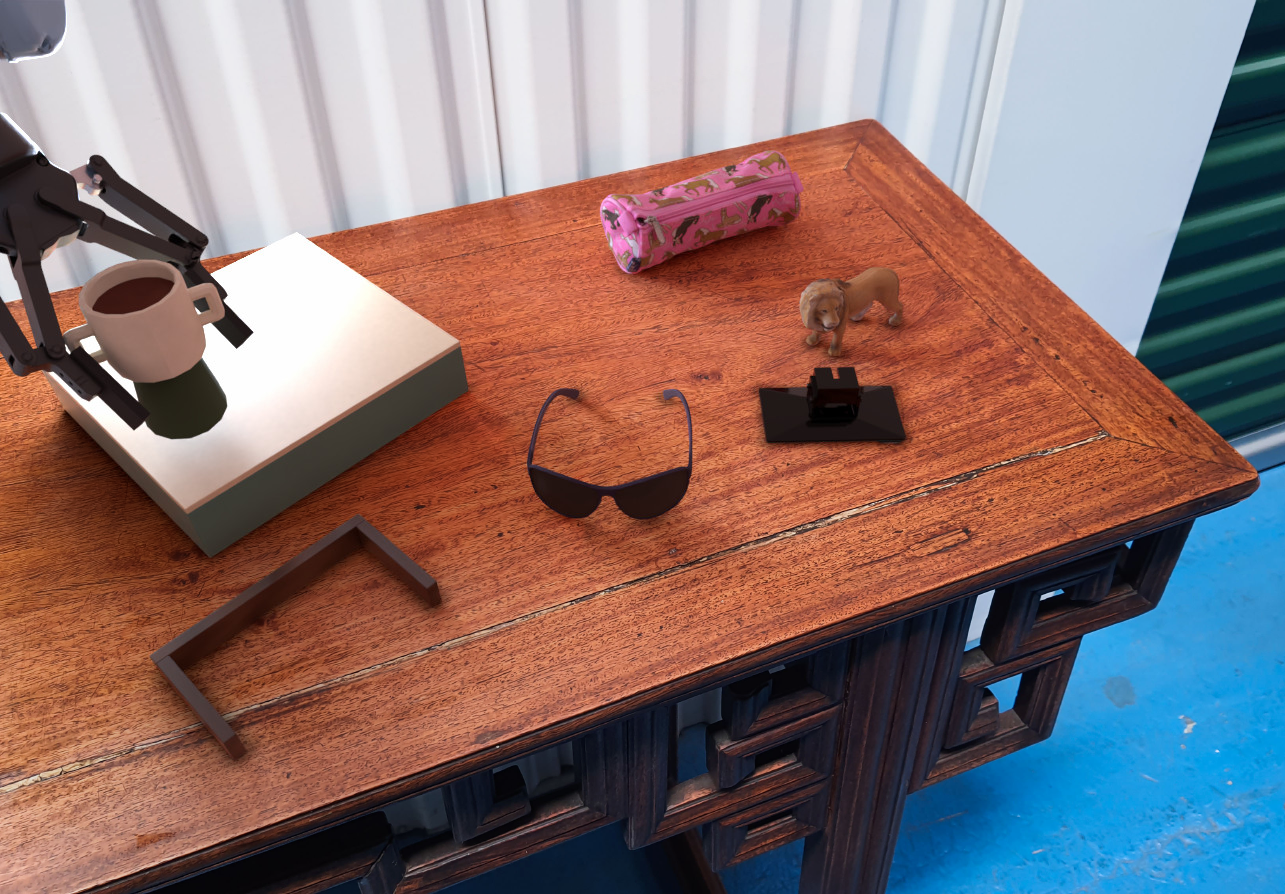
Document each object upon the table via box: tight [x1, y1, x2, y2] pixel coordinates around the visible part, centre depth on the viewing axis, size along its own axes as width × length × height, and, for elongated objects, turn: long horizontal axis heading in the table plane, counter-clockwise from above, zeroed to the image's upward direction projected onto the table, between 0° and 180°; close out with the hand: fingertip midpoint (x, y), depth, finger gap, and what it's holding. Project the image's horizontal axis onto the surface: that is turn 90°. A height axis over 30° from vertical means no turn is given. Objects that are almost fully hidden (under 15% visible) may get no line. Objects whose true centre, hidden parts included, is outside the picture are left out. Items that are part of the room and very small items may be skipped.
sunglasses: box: [526, 387, 694, 521], centre depth 85 cm, size 14×16×5 cm
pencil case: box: [599, 150, 805, 275], centre depth 106 cm, size 21×9×9 cm, turn 117°
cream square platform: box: [41, 232, 470, 559], centre depth 91 cm, size 27×26×6 cm
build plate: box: [758, 366, 907, 445], centre depth 89 cm, size 12×7×5 cm, turn 91°
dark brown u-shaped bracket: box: [148, 513, 443, 762], centre depth 73 cm, size 18×10×2 cm, turn 137°
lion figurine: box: [798, 266, 904, 357], centre depth 95 cm, size 15×5×9 cm, turn 133°
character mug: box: [62, 259, 227, 439], centre depth 75 cm, size 11×7×13 cm, turn 124°
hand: (196, 379), depth 75 cm, fingers closed on character mug, 10 cm apart
